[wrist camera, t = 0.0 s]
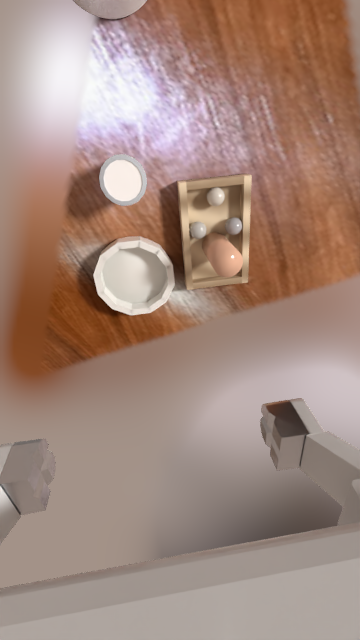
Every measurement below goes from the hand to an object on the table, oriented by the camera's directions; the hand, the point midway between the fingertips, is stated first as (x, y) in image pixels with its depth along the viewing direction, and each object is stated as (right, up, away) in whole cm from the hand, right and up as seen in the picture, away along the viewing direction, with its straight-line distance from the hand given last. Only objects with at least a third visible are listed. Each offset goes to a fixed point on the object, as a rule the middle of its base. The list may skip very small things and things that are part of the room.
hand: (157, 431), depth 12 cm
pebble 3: (+11, +20, +42) cm, 47 cm away
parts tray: (+7, +20, +45) cm, 50 cm away
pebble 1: (+4, +19, +41) cm, 46 cm away
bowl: (-8, +13, +47) cm, 50 cm away
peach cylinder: (+7, +18, +45) cm, 50 cm away
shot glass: (-8, +28, +39) cm, 48 cm away
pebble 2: (+7, +26, +41) cm, 49 cm away
